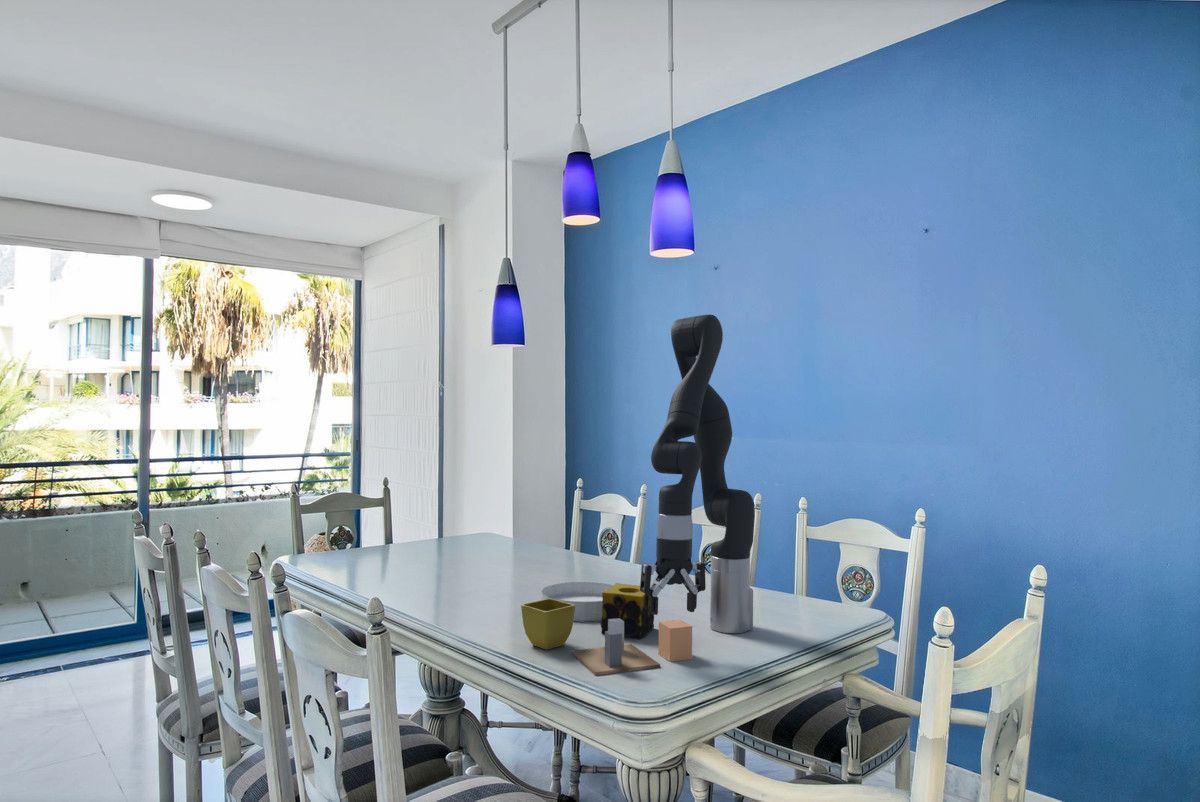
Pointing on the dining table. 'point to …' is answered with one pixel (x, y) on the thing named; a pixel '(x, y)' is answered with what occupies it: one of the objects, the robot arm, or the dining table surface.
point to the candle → (627, 610)
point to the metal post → (617, 627)
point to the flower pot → (548, 622)
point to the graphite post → (613, 648)
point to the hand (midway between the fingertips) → (672, 612)
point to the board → (630, 662)
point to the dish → (579, 598)
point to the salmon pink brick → (675, 640)
